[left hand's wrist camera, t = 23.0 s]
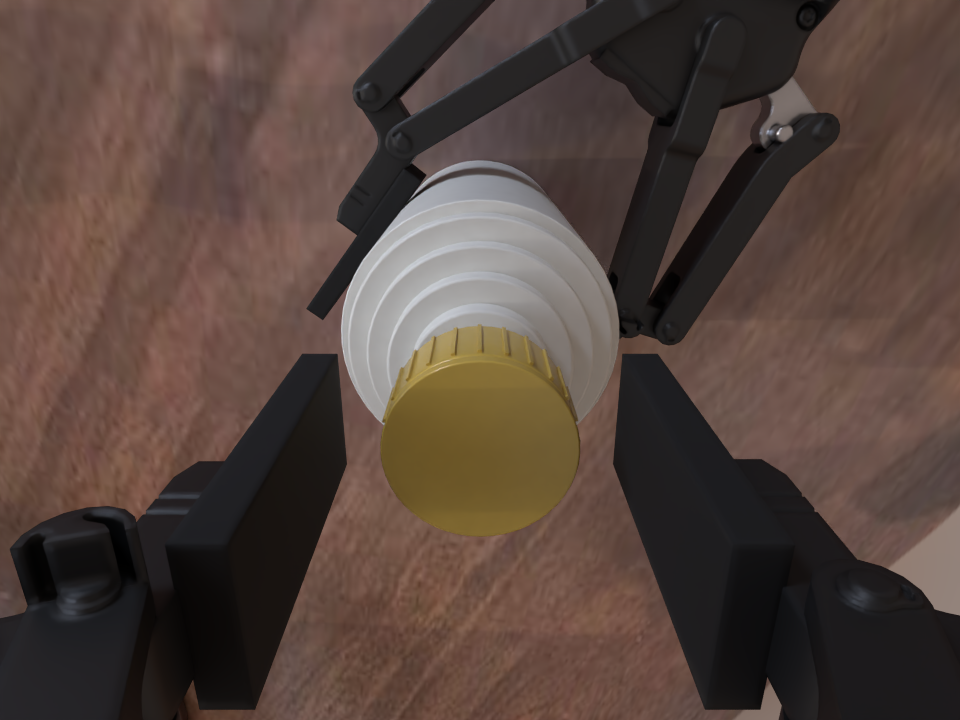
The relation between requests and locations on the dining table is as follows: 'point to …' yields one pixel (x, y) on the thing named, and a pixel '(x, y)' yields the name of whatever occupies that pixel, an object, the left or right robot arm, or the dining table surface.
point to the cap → (480, 432)
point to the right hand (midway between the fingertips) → (411, 365)
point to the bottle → (480, 282)
